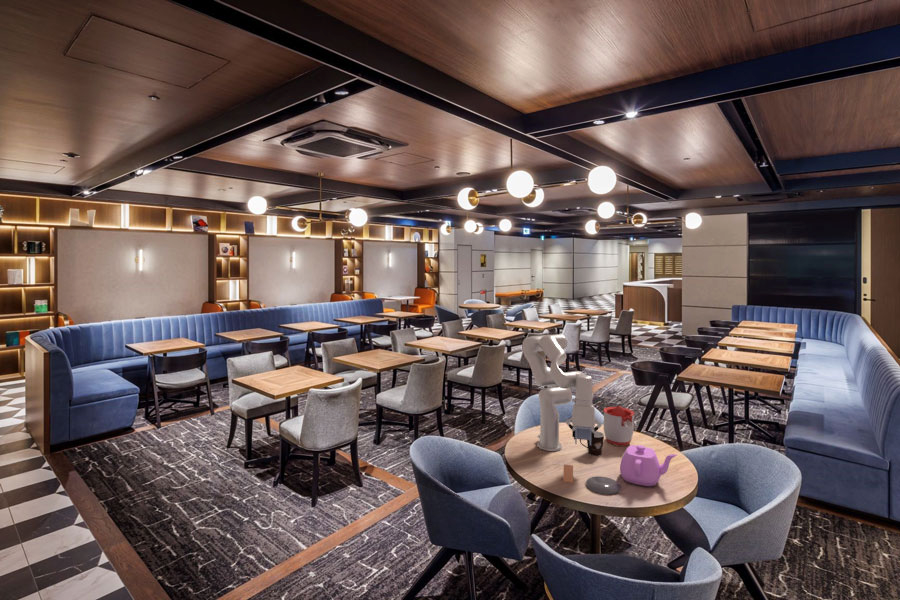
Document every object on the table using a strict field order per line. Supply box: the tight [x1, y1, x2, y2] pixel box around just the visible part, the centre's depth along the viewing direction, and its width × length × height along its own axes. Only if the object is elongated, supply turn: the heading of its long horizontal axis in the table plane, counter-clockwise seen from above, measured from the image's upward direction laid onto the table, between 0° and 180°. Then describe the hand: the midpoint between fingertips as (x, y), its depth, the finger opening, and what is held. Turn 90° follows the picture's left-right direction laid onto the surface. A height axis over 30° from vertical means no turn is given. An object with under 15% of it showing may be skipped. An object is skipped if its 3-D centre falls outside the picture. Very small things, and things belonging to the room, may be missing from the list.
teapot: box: [619, 444, 678, 487], centre depth 196 cm, size 23×21×15 cm
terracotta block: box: [563, 464, 574, 483], centre depth 199 cm, size 4×4×6 cm
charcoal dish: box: [585, 475, 622, 496], centre depth 193 cm, size 14×14×1 cm
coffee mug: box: [579, 430, 605, 457], centre depth 227 cm, size 12×9×10 cm
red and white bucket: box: [602, 405, 635, 447], centre depth 239 cm, size 16×17×20 cm
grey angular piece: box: [574, 426, 591, 445], centre depth 208 cm, size 7×7×8 cm
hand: (583, 439), depth 209 cm, fingers closed on grey angular piece, 7 cm apart
